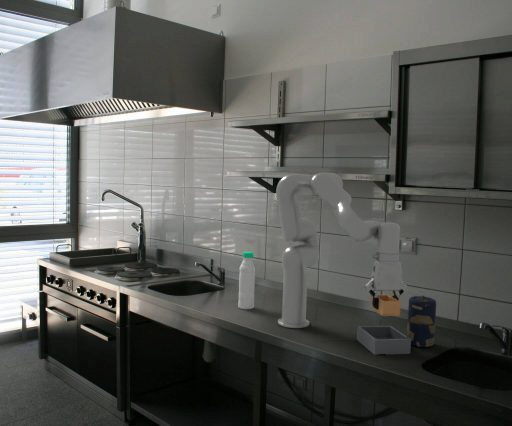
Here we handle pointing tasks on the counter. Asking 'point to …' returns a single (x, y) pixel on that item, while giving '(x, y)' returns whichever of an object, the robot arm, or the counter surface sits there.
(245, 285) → the water bottle
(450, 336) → the counter surface
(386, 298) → the small crate
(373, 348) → the big crate
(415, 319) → the canister
